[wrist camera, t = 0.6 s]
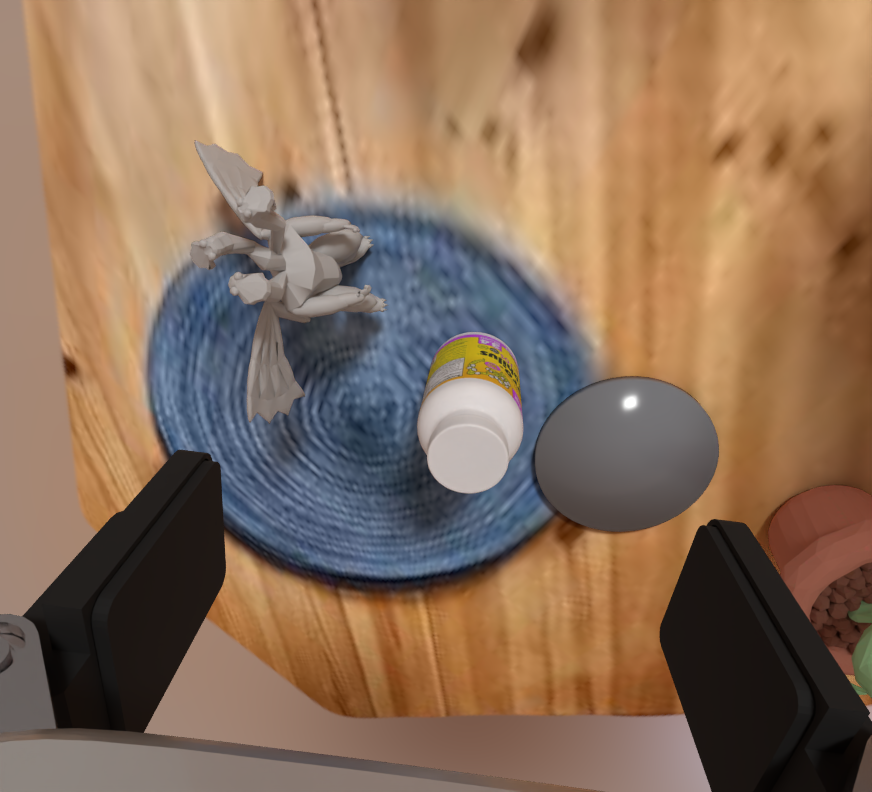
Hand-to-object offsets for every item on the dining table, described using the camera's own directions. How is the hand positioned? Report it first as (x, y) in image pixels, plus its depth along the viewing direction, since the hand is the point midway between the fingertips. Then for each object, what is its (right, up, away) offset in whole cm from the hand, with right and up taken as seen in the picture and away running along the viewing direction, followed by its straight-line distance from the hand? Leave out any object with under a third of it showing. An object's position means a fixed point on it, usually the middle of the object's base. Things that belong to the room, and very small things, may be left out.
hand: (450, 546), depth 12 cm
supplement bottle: (+3, +5, +34) cm, 34 cm away
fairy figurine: (-8, +13, +31) cm, 35 cm away
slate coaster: (+15, -2, +36) cm, 39 cm away
